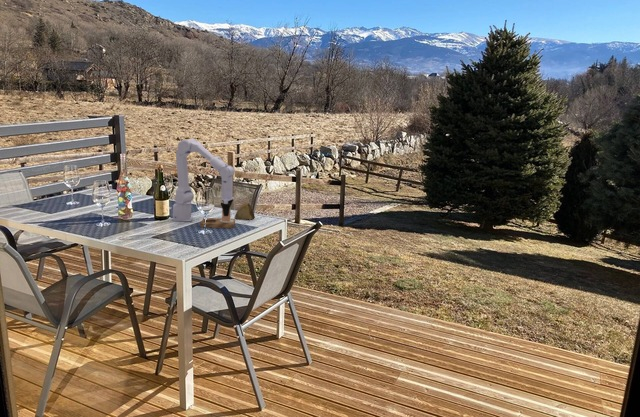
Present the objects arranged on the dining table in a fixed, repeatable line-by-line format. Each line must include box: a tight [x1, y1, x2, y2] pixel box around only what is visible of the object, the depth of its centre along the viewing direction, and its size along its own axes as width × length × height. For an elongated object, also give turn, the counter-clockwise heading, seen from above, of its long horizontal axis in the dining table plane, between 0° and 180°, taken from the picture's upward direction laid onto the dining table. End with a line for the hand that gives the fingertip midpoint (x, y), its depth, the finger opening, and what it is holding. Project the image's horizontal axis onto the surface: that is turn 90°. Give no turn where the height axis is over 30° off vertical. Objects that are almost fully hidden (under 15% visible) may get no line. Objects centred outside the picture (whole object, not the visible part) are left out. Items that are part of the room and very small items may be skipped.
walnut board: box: [199, 217, 236, 229], centre depth 251 cm, size 17×12×2 cm
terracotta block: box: [221, 206, 232, 221], centre depth 251 cm, size 4×4×7 cm
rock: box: [234, 202, 256, 220], centre depth 267 cm, size 11×9×10 cm
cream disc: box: [220, 218, 234, 223], centre depth 251 cm, size 7×7×1 cm
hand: (226, 214), depth 251 cm, fingers open, 7 cm apart
